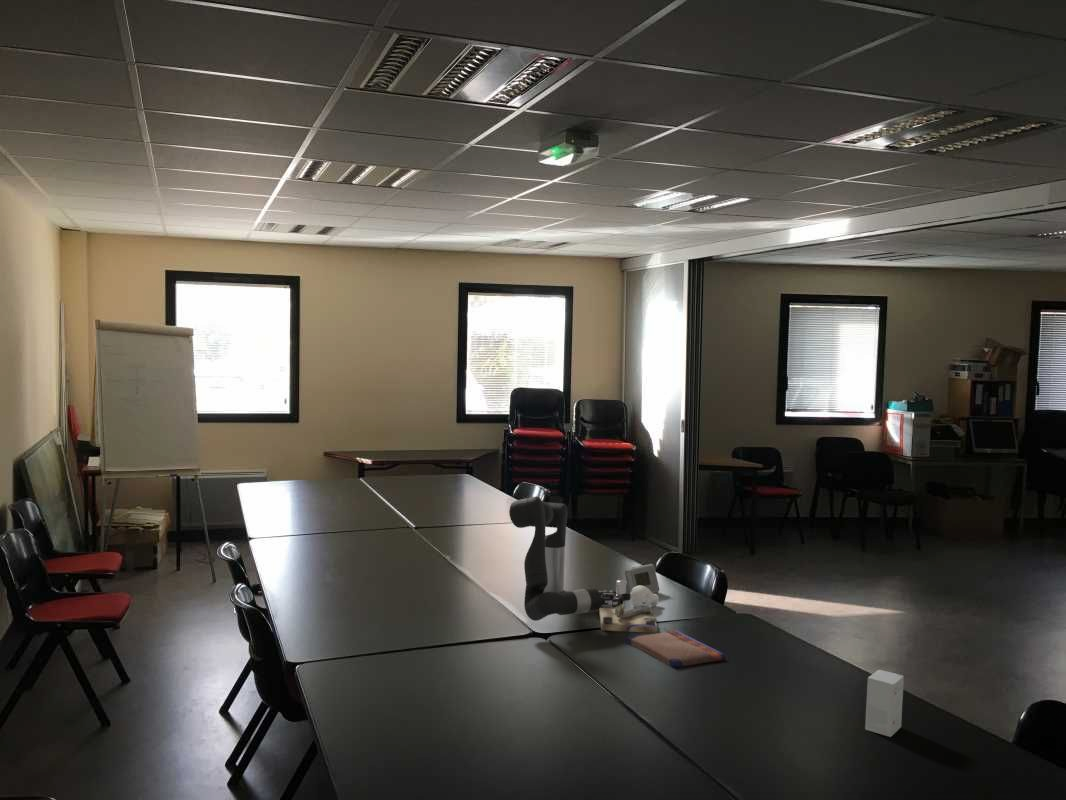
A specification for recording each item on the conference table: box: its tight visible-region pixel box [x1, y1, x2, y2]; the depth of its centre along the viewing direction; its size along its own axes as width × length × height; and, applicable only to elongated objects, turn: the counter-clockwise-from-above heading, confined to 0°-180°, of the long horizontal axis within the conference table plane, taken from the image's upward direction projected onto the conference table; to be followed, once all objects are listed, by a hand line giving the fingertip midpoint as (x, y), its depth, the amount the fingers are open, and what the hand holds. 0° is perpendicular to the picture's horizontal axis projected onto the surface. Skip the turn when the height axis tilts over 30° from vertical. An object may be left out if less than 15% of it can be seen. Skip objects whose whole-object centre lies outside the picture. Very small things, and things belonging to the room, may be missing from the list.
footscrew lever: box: [614, 579, 652, 619], centre depth 287 cm, size 17×5×12 cm, turn 134°
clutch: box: [626, 624, 726, 669], centre depth 262 cm, size 28×5×19 cm
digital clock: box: [624, 563, 660, 598], centre depth 321 cm, size 16×9×11 cm, turn 122°
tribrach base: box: [598, 607, 658, 634], centre depth 286 cm, size 18×18×4 cm
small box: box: [864, 669, 905, 738], centre depth 209 cm, size 8×6×13 cm
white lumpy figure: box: [630, 585, 660, 609], centre depth 305 cm, size 6×8×12 cm
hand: (626, 595), depth 284 cm, fingers closed on footscrew lever, 3 cm apart
